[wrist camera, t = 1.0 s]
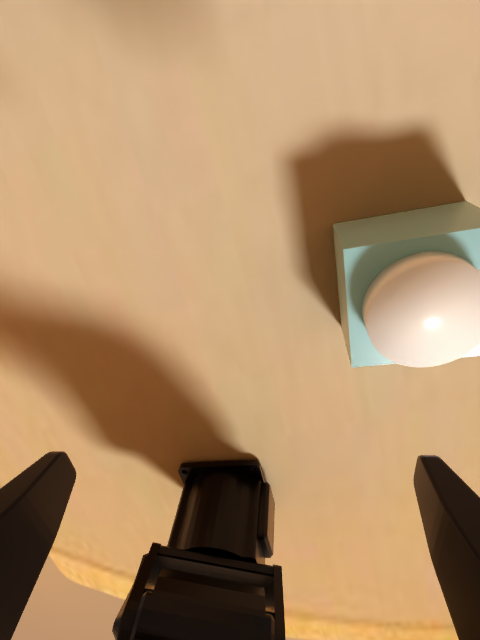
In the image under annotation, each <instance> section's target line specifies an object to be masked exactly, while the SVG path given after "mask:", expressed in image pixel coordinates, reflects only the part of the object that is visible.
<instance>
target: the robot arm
mask: <svg viewBox="0 0 480 640" xmlns="http://www.w3.org/2000/svg"><path fill="white" fill-rule="evenodd" d="M178 471H179V474H180V476H181V479H182V481H183V483H184V487H183V491H182V495H181V498H180V502H179V505H178V509H177V513H176V516H175V520H174V524H173V527H172V531H171V534H170V538H169V542H168V545H167V546H161V544H159V543H154V542H153V543H152V546H151V548H150V551H149V553H148V554H145V555H143V558H142V561H141V564H140V567H139V570H138V573H137V576H136V579H135V581H134V584H133V586H132V588H131V590H130V592H129V594H128V596H127V598H126V600H125V602H124V604H123V606H122V608H121V609H120V612H119V613H118V616H117V617H116V619H115V622H114V625H113V630H112V632H113V634H114V637H115V640H285V621H284V603H283V585H282V567H281V566H278V565H273V566H270V565H265V558H271V556H272V555H273V542H274V510H275V503H274V499H273V495H272V491H271V488H270V485H269V484H268V483H267V482H265V479H264V476H263V472H262V468H261V465H260V463H259V462H258V461H255V460H249V461H226V462H204V463H183V464H181V465H180V467H179V470H178ZM75 479H76V470H75V468H74V466H73V465H72V463H71V461H70V459H69V457H68V455H67V454H66V453H65V452H55V451H53V452H49V453H47V454H45V455H44V456H43V457H41V458H40V459H39V460H38V461H36V462H35V463H34V464H32V465H31V466H30V467H28V468H27V469H26V470H24V471H23V472H22V473H20V474H19V475H18V476H17V477H15V478H14V479H13V480H11V481H10V482H9V483H7V484H6V485H5V486H3V487H2V488H1V489H0V640H11V638H12V636H13V633H14V631H15V629H16V626H17V624H18V622H19V619H20V617H21V615H22V613H23V611H24V608H25V606H26V604H27V602H28V599H29V597H30V595H31V592H32V590H33V588H34V586H35V584H36V581H37V579H38V577H39V574H40V572H41V570H42V568H43V565H44V563H45V561H46V559H47V556H48V554H49V552H50V550H51V547H52V545H53V543H54V540H55V538H56V535H57V532H58V530H59V527H60V524H61V521H62V518H63V515H64V512H65V509H66V506H67V503H68V500H69V498H70V495H71V492H72V489H73V486H74V483H75ZM414 488H415V492H416V496H417V501H418V505H419V509H420V513H421V518H422V522H423V526H424V531H425V535H426V539H427V544H428V548H429V552H430V556H431V559H432V562H433V566H434V569H435V572H436V575H437V578H438V581H439V583H440V586H441V589H442V592H443V595H444V598H445V601H446V604H447V607H448V610H449V612H450V615H451V618H452V621H453V624H454V627H455V630H456V633H457V636H458V639H459V640H480V497H479V496H478V495H477V494H476V493H475V492H474V491H473V490H472V489H471V488H470V487H469V486H468V485H467V484H466V483H465V482H464V481H463V480H462V479H461V478H460V477H459V476H458V475H457V474H456V473H455V472H454V471H453V470H452V469H451V468H450V467H449V466H448V465H447V464H446V463H445V462H444V461H443V460H442V459H441V458H439V457H438V456H435V455H420V456H418V458H417V462H416V468H415V473H414Z"/></svg>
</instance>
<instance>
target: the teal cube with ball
mask: <svg viewBox="0 0 480 640" xmlns="http://www.w3.org/2000/svg"><path fill="white" fill-rule="evenodd" d="M333 234H334V246H335V258H336V270H337V282H338V294H339V306H340V318H341V328H342V331H343V335H344V339H345V343H346V347H347V351H348V355H349V359H350V363H351V367H352V368H353V367H364V366H375V365H386V364H396V363H397V364H400V365H404V366H410V367H432V366H438V365H442V364H445V363H448V362H451V361H454V360H456V359H458V358H461V357H472V356H480V208H479V207H477V206H475V205H473V204H471V203H469V202H467V201H462V202H457V203H451V204H445V205H439V206H433V207H428V208H422V209H416V210H410V211H404V212H399V213H393V214H387V215H381V216H375V217H370V218H364V219H358V220H352V221H346V222H341V223H335V224H333Z"/></svg>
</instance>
